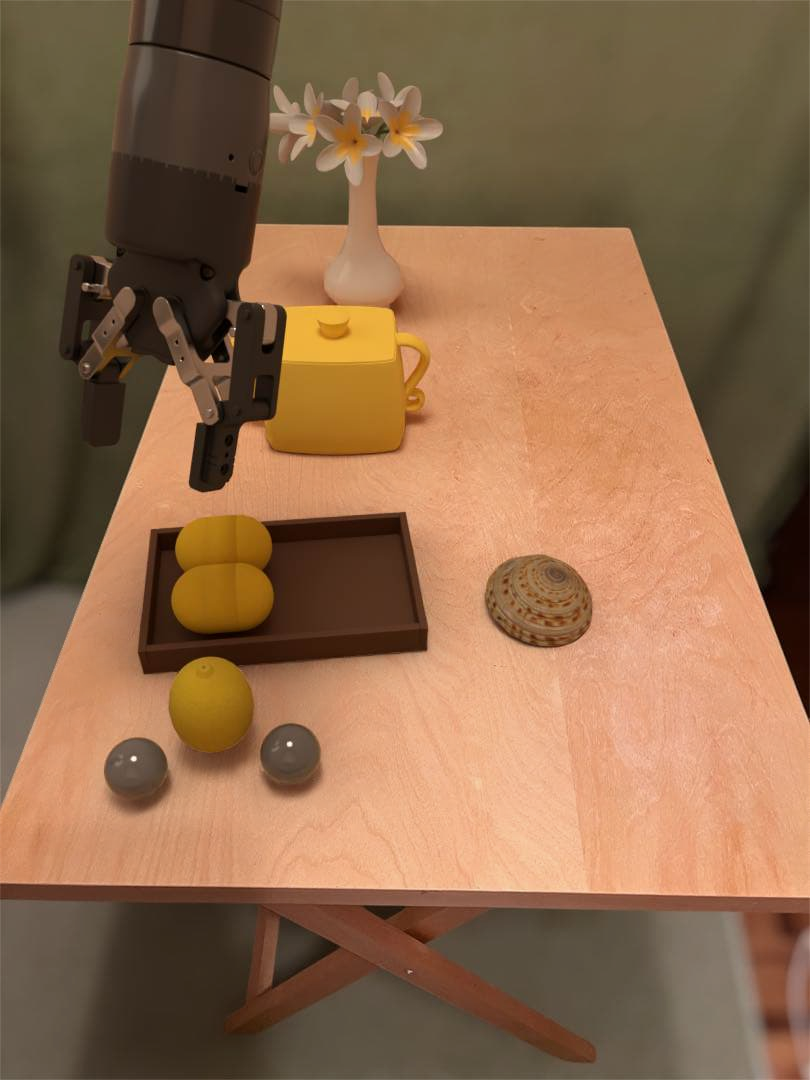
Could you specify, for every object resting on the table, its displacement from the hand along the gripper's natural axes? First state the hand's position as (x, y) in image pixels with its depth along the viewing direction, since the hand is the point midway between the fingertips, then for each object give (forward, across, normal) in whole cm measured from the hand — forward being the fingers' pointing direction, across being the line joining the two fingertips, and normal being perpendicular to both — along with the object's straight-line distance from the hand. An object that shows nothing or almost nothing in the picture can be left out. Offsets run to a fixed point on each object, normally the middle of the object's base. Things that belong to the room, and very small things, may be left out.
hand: (151, 466), depth 51 cm
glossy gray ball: (+23, 0, +3) cm, 23 cm away
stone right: (+20, +7, +9) cm, 23 cm away
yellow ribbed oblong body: (+15, -5, +15) cm, 22 cm away
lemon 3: (+20, +2, +8) cm, 22 cm away
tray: (+14, -3, +19) cm, 24 cm away
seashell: (+11, +14, +30) cm, 35 cm away
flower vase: (-6, -26, +55) cm, 61 cm away
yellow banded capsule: (+13, -8, +18) cm, 24 cm away
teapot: (+4, -15, +38) cm, 41 cm away
